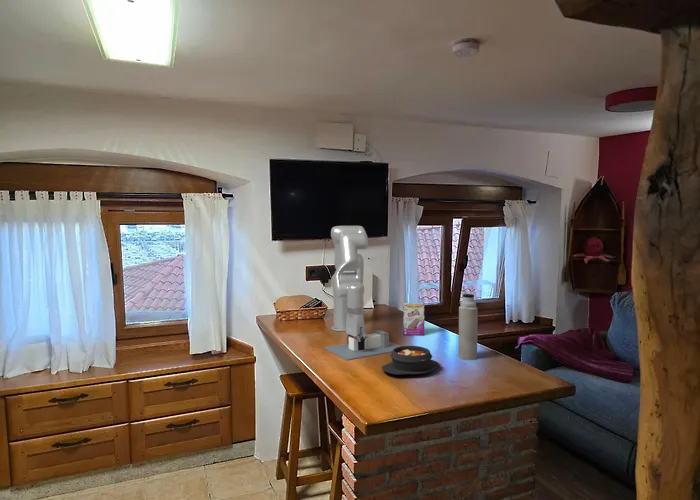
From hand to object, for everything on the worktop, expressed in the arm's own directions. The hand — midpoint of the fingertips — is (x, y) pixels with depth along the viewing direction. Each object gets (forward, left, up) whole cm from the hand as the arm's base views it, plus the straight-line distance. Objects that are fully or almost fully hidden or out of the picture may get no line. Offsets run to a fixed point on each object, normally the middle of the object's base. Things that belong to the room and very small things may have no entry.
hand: (355, 347), depth 215 cm
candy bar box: (-9, +41, -2) cm, 42 cm away
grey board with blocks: (0, +5, -2) cm, 5 cm away
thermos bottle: (+35, +37, -2) cm, 51 cm away
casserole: (+36, +5, -2) cm, 36 cm away
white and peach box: (0, +1, -2) cm, 2 cm away
